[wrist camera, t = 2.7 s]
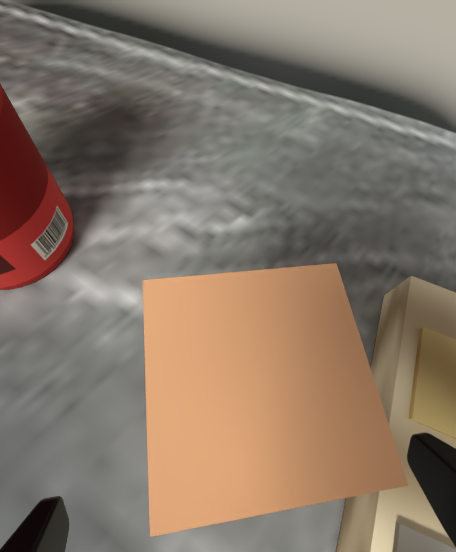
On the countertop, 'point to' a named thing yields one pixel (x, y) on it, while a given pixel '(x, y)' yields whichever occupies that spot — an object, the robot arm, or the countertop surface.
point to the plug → (258, 397)
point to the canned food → (28, 207)
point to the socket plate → (409, 416)
